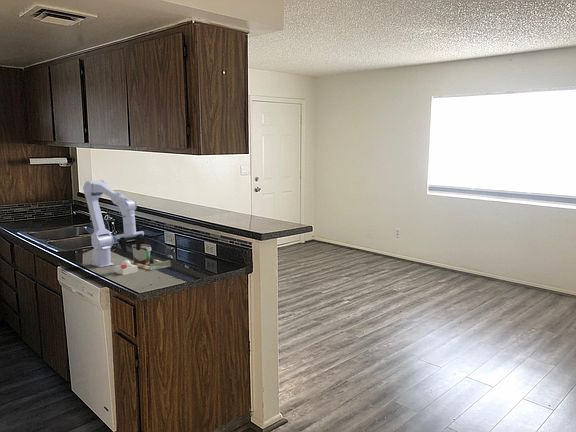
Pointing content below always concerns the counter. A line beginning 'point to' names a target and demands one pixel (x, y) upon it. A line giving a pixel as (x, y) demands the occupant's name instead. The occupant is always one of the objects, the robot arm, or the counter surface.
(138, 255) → the food container
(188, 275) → the counter surface
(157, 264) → the bracket
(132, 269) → the dome housing
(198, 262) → the counter surface
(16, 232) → the counter surface
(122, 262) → the dome
